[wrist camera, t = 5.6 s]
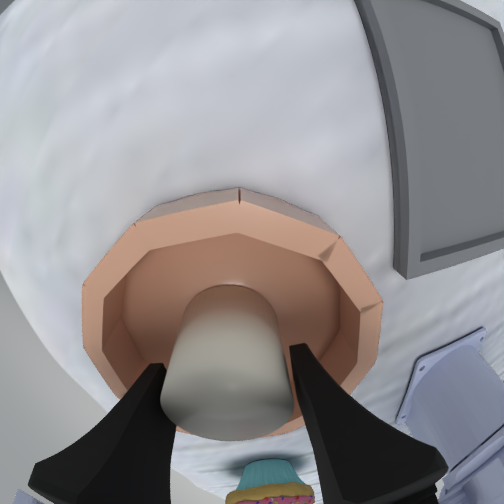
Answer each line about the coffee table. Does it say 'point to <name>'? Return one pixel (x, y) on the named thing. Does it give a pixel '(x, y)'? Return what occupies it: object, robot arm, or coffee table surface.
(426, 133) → the parts tray
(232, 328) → the smooth grey cylinder
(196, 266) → the terracotta bowl
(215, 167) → the coffee table surface
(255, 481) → the cupcake
